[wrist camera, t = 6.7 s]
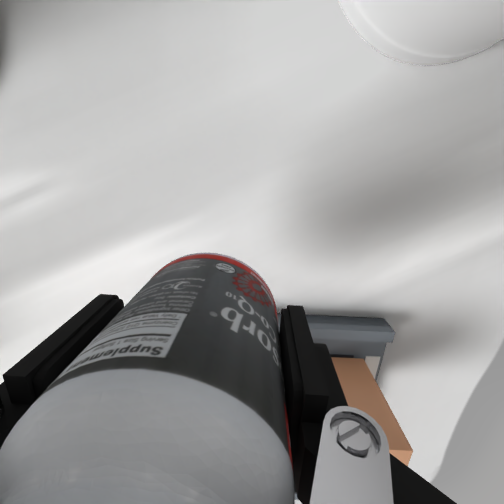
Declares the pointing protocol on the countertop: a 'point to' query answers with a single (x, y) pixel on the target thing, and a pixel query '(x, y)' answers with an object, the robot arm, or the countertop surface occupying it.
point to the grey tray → (351, 338)
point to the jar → (427, 27)
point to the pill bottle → (165, 401)
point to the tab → (371, 402)
